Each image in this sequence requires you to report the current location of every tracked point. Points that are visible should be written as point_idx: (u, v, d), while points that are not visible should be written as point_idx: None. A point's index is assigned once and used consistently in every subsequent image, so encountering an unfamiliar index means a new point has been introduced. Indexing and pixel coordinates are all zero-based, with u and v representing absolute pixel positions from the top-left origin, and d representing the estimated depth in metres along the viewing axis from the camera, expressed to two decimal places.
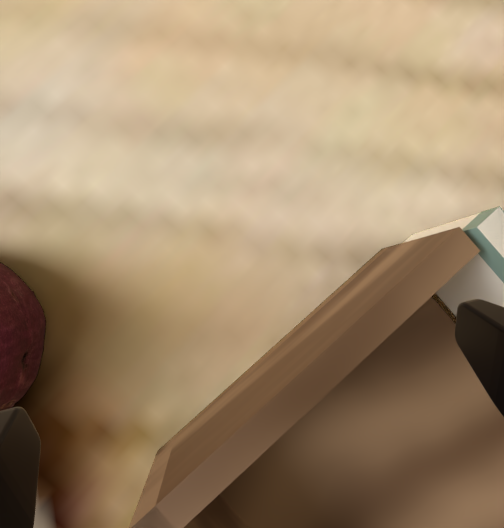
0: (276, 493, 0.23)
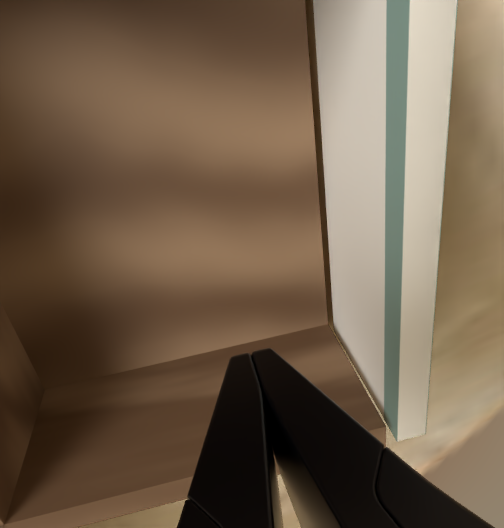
0: None
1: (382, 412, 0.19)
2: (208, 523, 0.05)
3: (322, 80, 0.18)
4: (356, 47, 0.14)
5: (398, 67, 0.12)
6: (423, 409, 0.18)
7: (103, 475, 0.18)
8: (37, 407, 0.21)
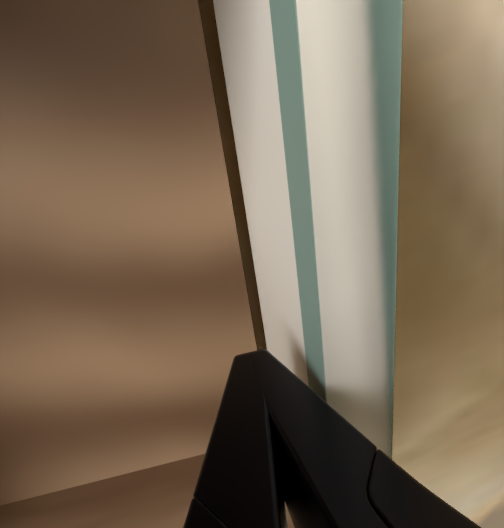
0: None
1: None
2: (214, 521, 0.05)
3: (236, 139, 0.12)
4: (255, 109, 0.09)
5: (298, 169, 0.06)
6: None
7: None
8: None
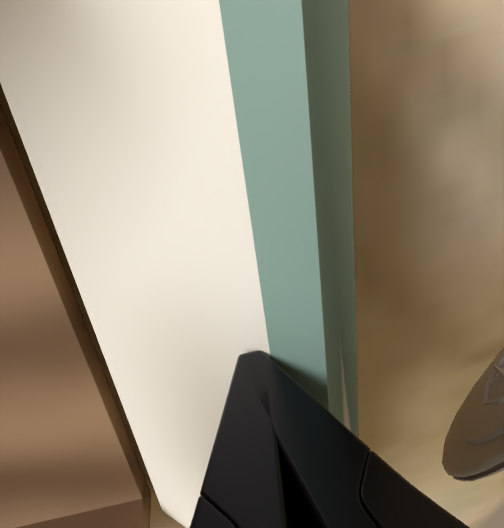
0: None
1: None
2: (222, 519, 0.05)
3: (52, 189, 0.11)
4: (141, 135, 0.08)
5: (282, 166, 0.06)
6: None
7: None
8: None
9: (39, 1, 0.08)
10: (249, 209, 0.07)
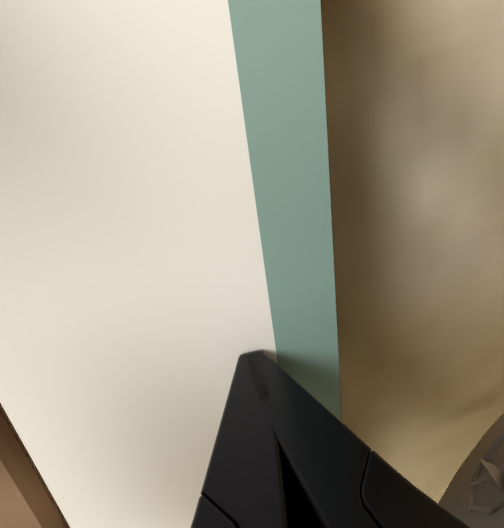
0: None
1: None
2: (223, 519, 0.05)
3: None
4: (110, 153, 0.07)
5: (295, 153, 0.07)
6: None
7: None
8: None
9: None
10: (255, 204, 0.07)
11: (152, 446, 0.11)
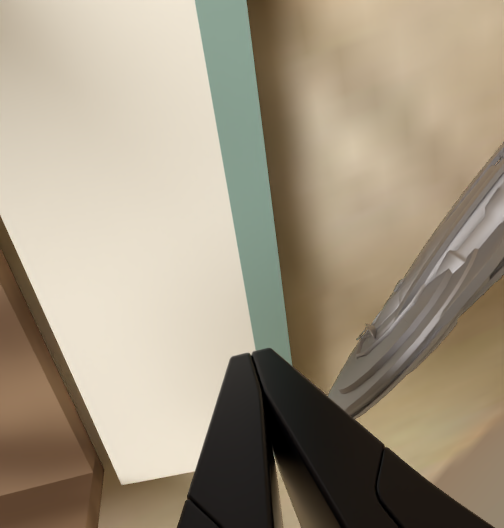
0: None
1: None
2: (208, 523, 0.05)
3: (6, 178, 0.12)
4: (125, 103, 0.11)
5: (239, 98, 0.12)
6: None
7: None
8: None
9: (21, 14, 0.10)
10: (217, 132, 0.12)
11: (152, 324, 0.15)
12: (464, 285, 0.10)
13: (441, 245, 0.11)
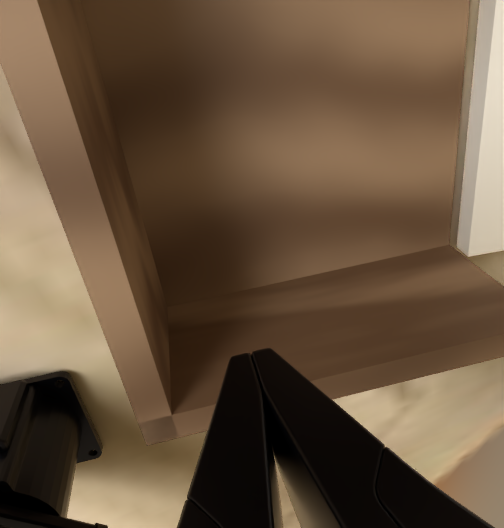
0: None
1: None
2: (208, 523, 0.05)
3: None
4: None
5: None
6: None
7: None
8: (167, 320, 0.21)
9: None
10: None
11: None
12: None
13: None
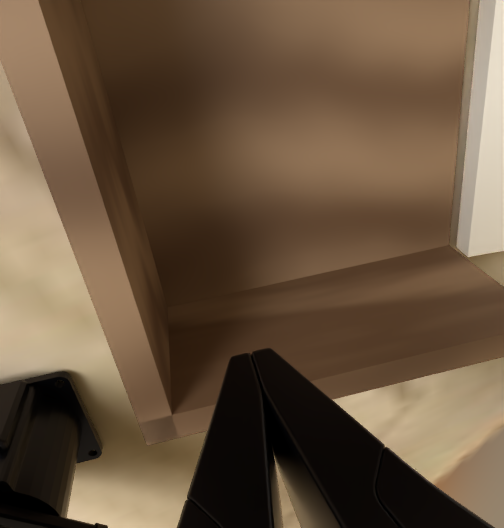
0: None
1: None
2: (208, 523, 0.05)
3: None
4: None
5: None
6: None
7: None
8: (167, 320, 0.21)
9: None
10: None
11: None
12: None
13: None
